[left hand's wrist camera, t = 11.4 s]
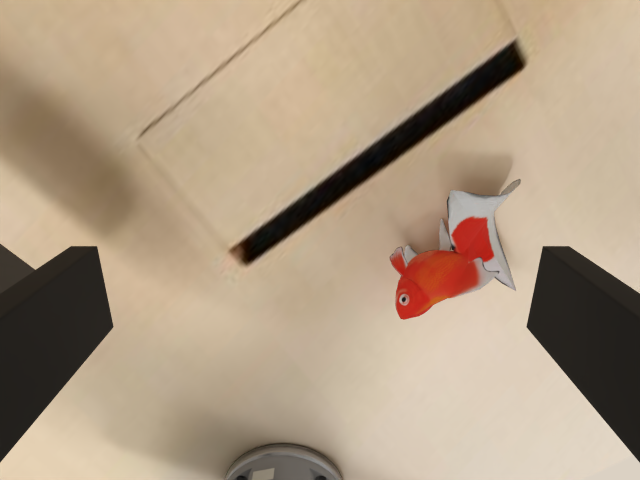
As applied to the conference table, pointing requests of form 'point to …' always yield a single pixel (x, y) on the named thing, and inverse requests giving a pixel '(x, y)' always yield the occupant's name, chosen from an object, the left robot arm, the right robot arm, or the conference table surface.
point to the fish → (454, 256)
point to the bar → (11, 269)
